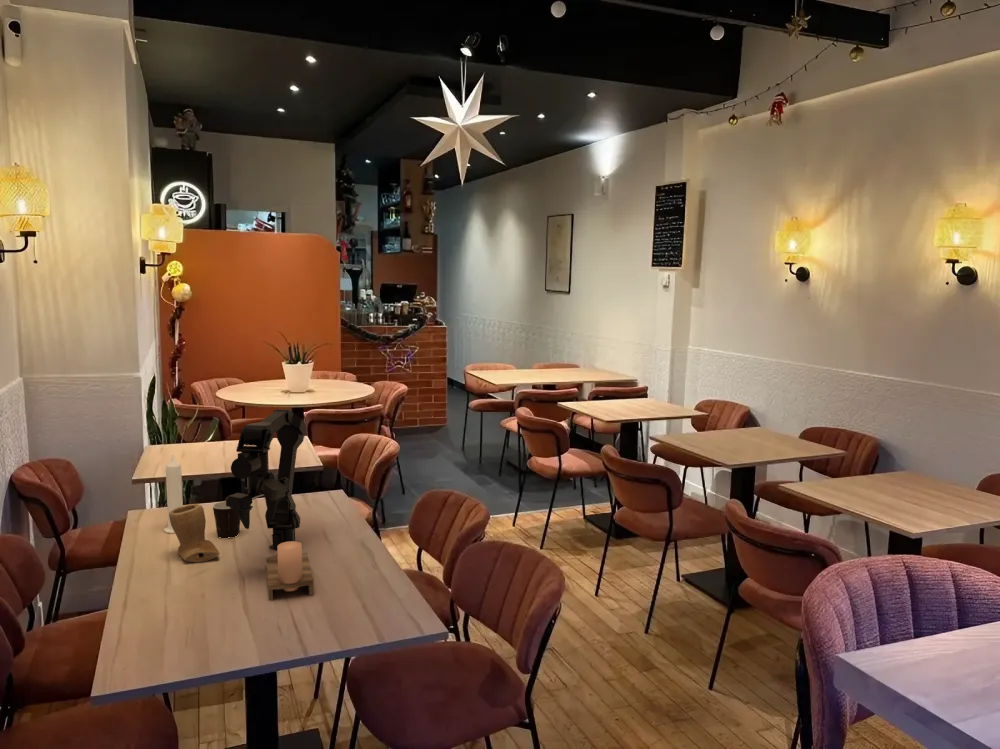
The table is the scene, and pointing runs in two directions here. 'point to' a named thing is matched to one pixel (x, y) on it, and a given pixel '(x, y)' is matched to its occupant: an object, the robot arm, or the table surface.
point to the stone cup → (192, 533)
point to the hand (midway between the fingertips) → (259, 523)
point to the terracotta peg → (289, 563)
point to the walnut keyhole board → (275, 584)
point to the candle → (173, 488)
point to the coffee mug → (226, 520)
